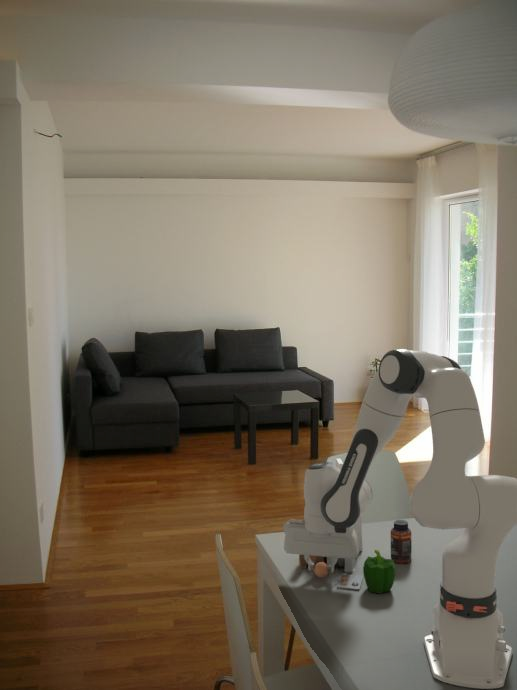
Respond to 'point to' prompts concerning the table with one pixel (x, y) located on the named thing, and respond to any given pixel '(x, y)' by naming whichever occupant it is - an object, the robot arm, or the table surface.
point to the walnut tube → (304, 564)
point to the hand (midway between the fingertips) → (321, 570)
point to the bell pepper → (379, 573)
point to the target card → (350, 582)
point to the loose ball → (321, 569)
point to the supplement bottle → (401, 542)
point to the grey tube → (348, 564)
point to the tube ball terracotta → (313, 559)
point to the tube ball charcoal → (341, 562)
